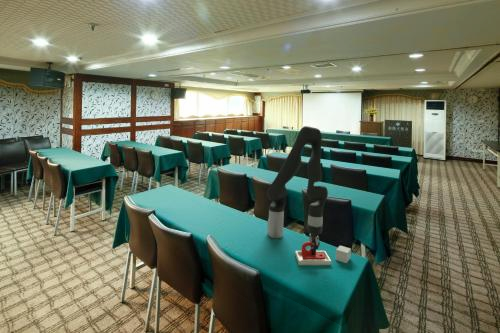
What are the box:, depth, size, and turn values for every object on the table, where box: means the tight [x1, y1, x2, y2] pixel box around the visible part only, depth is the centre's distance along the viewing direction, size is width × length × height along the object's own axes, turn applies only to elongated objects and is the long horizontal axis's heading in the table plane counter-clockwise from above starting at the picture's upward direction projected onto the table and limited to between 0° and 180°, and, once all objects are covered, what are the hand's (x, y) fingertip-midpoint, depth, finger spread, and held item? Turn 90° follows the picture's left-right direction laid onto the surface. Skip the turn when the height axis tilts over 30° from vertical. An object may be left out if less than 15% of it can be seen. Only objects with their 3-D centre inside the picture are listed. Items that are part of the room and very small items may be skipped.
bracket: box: [300, 241, 326, 260], centre depth 147 cm, size 12×4×8 cm, turn 92°
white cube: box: [335, 245, 352, 264], centre depth 150 cm, size 6×6×6 cm
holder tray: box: [294, 250, 332, 266], centre depth 149 cm, size 11×17×2 cm, turn 92°
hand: (313, 253), depth 149 cm, fingers closed on bracket, 1 cm apart
